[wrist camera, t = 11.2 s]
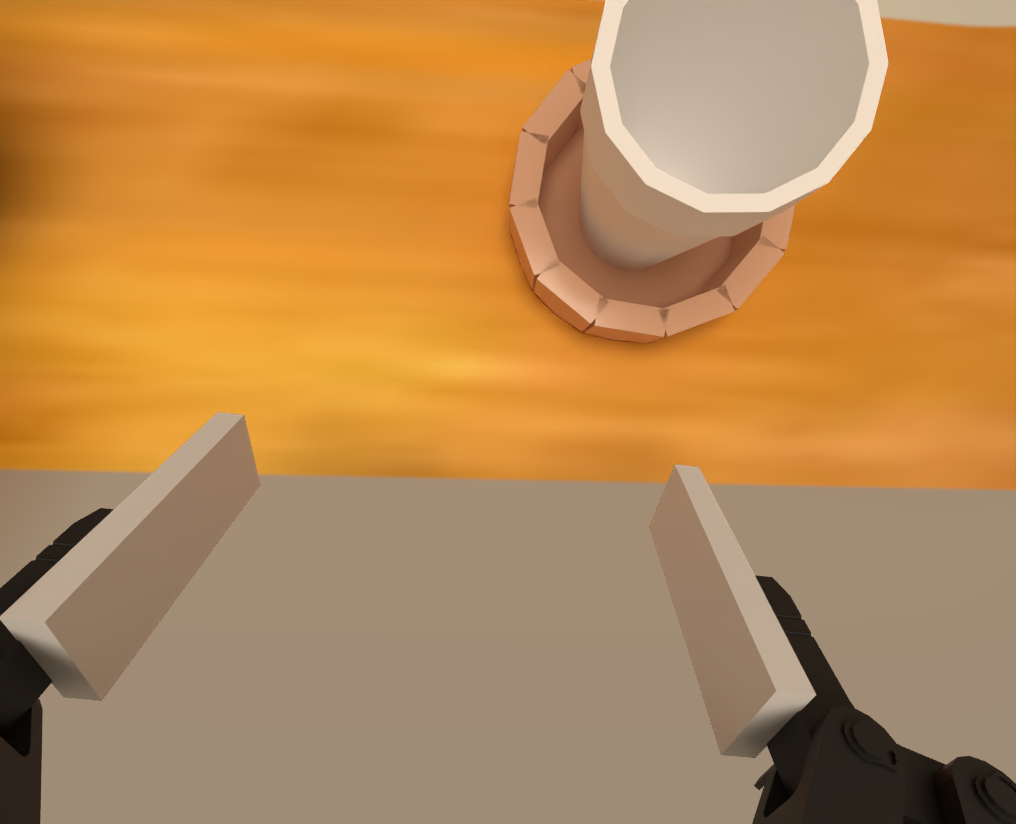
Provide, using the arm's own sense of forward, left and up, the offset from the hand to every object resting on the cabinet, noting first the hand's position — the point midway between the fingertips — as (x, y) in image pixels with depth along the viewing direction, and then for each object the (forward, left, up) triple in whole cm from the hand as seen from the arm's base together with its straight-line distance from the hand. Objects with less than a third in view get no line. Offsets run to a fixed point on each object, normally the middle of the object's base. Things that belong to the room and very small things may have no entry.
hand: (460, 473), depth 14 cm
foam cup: (+7, +14, -14) cm, 21 cm away
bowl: (+7, +14, -15) cm, 22 cm away
